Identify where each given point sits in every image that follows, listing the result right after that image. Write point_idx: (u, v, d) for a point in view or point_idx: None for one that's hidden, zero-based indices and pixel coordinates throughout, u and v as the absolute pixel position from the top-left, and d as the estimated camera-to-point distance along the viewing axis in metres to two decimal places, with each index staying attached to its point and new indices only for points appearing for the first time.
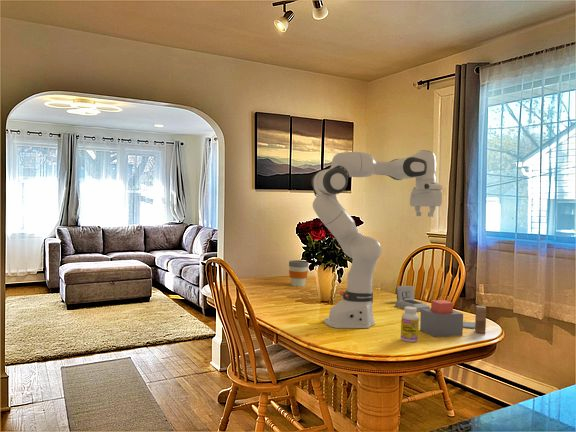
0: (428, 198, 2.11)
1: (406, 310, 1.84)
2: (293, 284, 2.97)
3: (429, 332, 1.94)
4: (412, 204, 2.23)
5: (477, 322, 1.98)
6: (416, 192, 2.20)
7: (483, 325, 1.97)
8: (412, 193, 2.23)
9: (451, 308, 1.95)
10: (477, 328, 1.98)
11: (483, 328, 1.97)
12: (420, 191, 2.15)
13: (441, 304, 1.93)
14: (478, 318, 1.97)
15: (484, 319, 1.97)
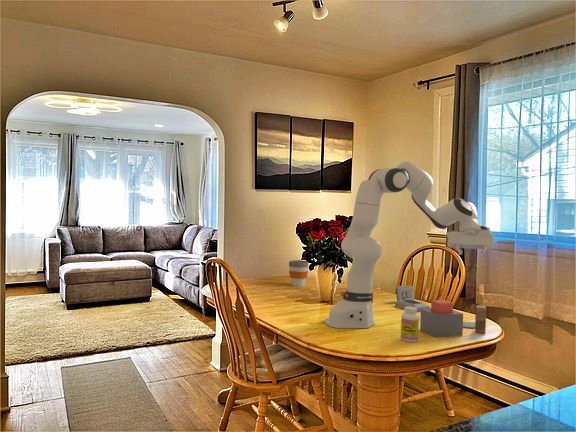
0: (483, 238, 2.15)
1: (406, 310, 1.84)
2: (293, 284, 2.97)
3: (429, 332, 1.94)
4: (454, 241, 2.16)
5: (477, 322, 1.98)
6: (460, 232, 2.19)
7: (483, 325, 1.97)
8: (453, 233, 2.20)
9: (451, 308, 1.95)
10: (477, 328, 1.98)
11: (483, 328, 1.97)
12: (472, 231, 2.17)
13: (441, 304, 1.93)
14: (478, 318, 1.97)
15: (484, 319, 1.97)
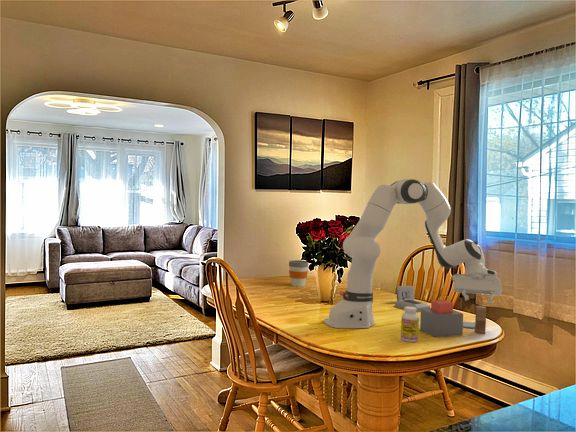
0: (490, 283, 2.09)
1: (406, 310, 1.84)
2: (293, 284, 2.97)
3: (429, 332, 1.94)
4: (460, 286, 2.10)
5: (477, 322, 1.98)
6: (466, 277, 2.13)
7: (483, 325, 1.97)
8: (459, 277, 2.13)
9: (451, 308, 1.95)
10: (477, 328, 1.98)
11: (483, 328, 1.97)
12: (479, 275, 2.11)
13: (441, 304, 1.93)
14: (478, 318, 1.97)
15: (484, 319, 1.97)
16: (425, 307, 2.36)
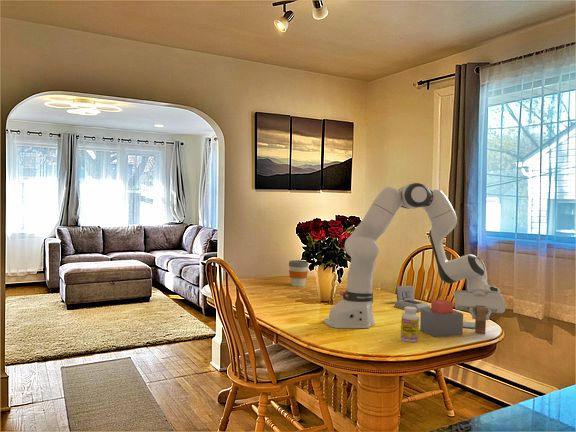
0: (493, 301, 2.01)
1: (406, 310, 1.84)
2: (293, 284, 2.97)
3: (429, 332, 1.94)
4: (462, 304, 2.02)
5: (477, 322, 1.98)
6: (468, 293, 2.05)
7: (483, 325, 1.97)
8: (461, 294, 2.06)
9: (451, 308, 1.95)
10: (477, 328, 1.98)
11: (483, 328, 1.97)
12: (481, 292, 2.03)
13: (441, 304, 1.93)
14: (478, 318, 1.97)
15: (484, 319, 1.97)
16: (425, 307, 2.37)
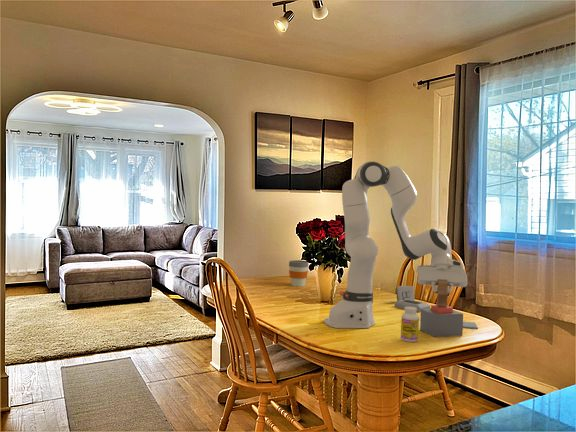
0: (455, 275, 1.99)
1: (406, 310, 1.84)
2: (293, 284, 2.97)
3: (429, 332, 1.94)
4: (424, 278, 2.00)
5: (439, 296, 1.95)
6: (431, 268, 2.03)
7: (445, 299, 1.95)
8: (423, 268, 2.04)
9: (451, 312, 1.95)
10: (439, 302, 1.95)
11: (444, 301, 1.95)
12: (444, 266, 2.01)
13: (441, 309, 1.93)
14: (439, 292, 1.95)
15: (445, 292, 1.95)
16: (426, 307, 2.37)
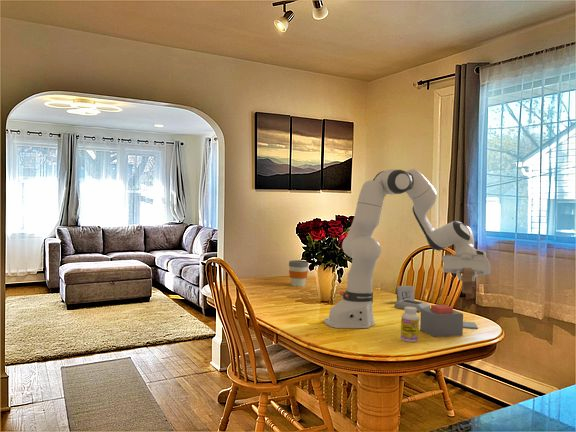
0: (479, 264, 2.11)
1: (406, 310, 1.84)
2: (293, 284, 2.97)
3: (429, 332, 1.94)
4: (449, 267, 2.13)
5: (464, 283, 2.08)
6: (456, 257, 2.16)
7: (470, 286, 2.07)
8: (448, 258, 2.16)
9: (451, 312, 1.95)
10: (464, 289, 2.08)
11: (469, 288, 2.07)
12: (468, 256, 2.14)
13: (441, 309, 1.93)
14: (465, 279, 2.08)
15: (470, 279, 2.07)
16: (427, 306, 2.38)
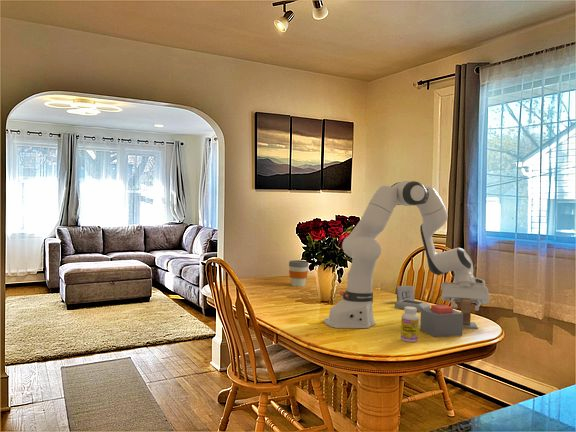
0: (478, 292, 2.12)
1: (406, 310, 1.84)
2: (293, 284, 2.97)
3: (429, 332, 1.94)
4: (448, 295, 2.13)
5: None
6: (455, 285, 2.16)
7: (468, 317, 2.08)
8: (447, 286, 2.17)
9: (451, 312, 1.95)
10: None
11: (468, 319, 2.08)
12: (467, 284, 2.14)
13: (441, 309, 1.93)
14: (463, 310, 2.08)
15: (469, 311, 2.08)
16: (427, 306, 2.38)
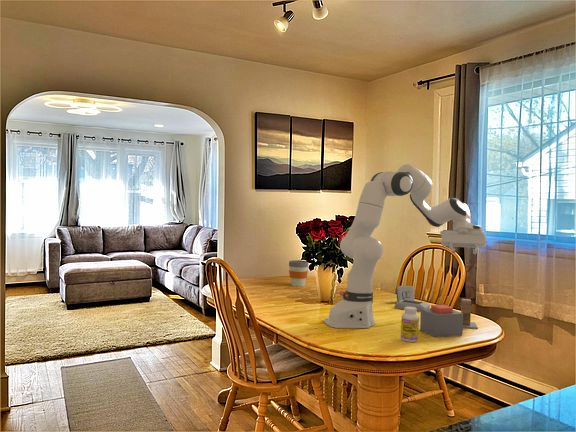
0: (475, 237, 2.23)
1: (406, 310, 1.84)
2: (293, 284, 2.97)
3: (429, 332, 1.94)
4: (447, 240, 2.25)
5: None
6: (453, 232, 2.28)
7: (468, 317, 2.08)
8: (446, 232, 2.28)
9: (451, 312, 1.95)
10: None
11: (468, 319, 2.08)
12: (465, 230, 2.26)
13: (441, 309, 1.93)
14: (463, 310, 2.08)
15: (469, 311, 2.08)
16: (427, 306, 2.39)
